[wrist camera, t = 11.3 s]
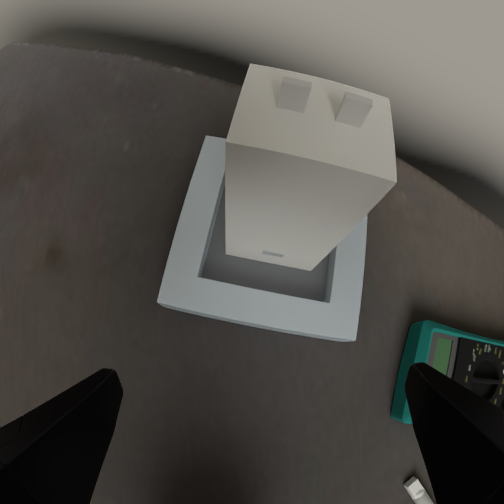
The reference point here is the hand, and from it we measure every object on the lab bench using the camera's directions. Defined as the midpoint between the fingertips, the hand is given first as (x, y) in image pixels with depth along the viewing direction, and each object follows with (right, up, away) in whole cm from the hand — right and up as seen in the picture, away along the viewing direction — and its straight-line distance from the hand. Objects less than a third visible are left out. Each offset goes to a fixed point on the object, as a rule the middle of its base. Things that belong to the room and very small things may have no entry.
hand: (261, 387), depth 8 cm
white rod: (+15, -19, +7) cm, 25 cm away
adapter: (+1, +5, +12) cm, 13 cm away
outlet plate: (+1, +5, +13) cm, 14 cm away
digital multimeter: (+17, -7, +12) cm, 22 cm away
